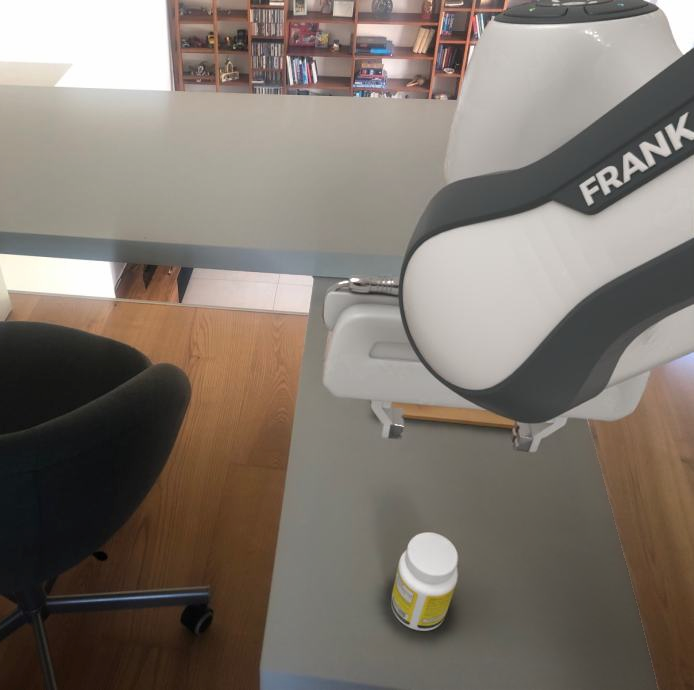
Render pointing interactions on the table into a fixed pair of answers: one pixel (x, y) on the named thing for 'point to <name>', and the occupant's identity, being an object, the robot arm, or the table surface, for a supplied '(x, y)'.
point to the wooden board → (454, 415)
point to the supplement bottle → (425, 581)
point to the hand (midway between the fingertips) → (455, 438)
